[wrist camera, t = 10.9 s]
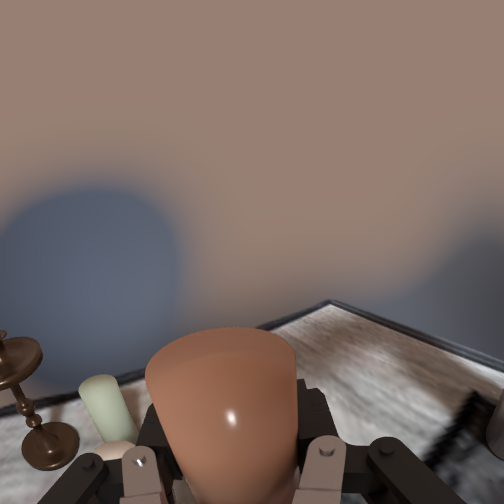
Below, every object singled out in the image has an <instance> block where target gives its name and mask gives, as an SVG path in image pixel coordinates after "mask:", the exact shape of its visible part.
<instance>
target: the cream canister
mask: <svg viewBox="0 0 504 504" xmlns="http://www.w3.org/2000/svg"><path fill="white" fill-rule="evenodd" d="M132 447H135V445H134V444H132V443H130V442H128V441H123V440H115V441H110V442H107V443H104V444H102V445H101V446H99V447H98V448H96V449H95V450H94V452H93V453H95V454H98V455H99V456H101V458H102V459H103V460H104V461H105V460H112V459H119V458H122V456H123V454H124V453H125V452H126V451H127V450H128V449H130V448H132Z"/></svg>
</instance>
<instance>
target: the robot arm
mask: <svg viewBox="0 0 504 504" xmlns="http://www.w3.org/2000/svg"><path fill="white" fill-rule="evenodd" d="M297 407H298V466H299V471H300V474H302V477H301V480H300V484H299V487H298V488H297V489H296V491H295V495H294V498H293V502H292V504H340V498H341V493H360V494H361V495H362V496H363V498H364V499H365V500H366V502H367V503H368V504H467V503H466V502H464V501H463V500H462V499H461V498H460V497H459V496H458V495H457V494H456V493H455V492H454V491H453V490H452V489H450V488H449V487H448V486H447V485H446V484H445V483H444V482H443V481H442V480H441V479H440V478H439V477H438V476H437V475H436V474H435V473H433V472H432V471H431V470H430V469H429V468H428V467H427V466H426V465H425V464H424V463H423V462H422V461H421V460H420V459H419V458H418V457H417V456H416V455H415V454H414V453H413V452H412V451H411V450H410V449H408V448H407V447H406V446H405V445H404V444H403V443H402V442H401V441H400V440H398V439H397V438H394V437H381V438H378V439H376V440H374V441H373V442H372V443H371V444H370V446H356V445H350V444H348V443H346V442H344V441H343V440H342V439H340V437H339V436H338V433H337V430H336V427H335V424H334V421H333V418H332V415H331V412H330V410H329V407H328V404H327V401H326V398H325V395H324V394H323V393H322V392H321V391H320V390H319V389H318V388H313V389H307V388H306V384H305V381H304V379H297ZM486 441H487V443H488V446H489V447H490V449H491V451H492V452H493V453H494V454H495V455H496V456H498V457H499V458H501V459H503V460H504V389H503V392H502V394H501V397H500V399H499V401H498V403H497V406H496V408H495V410H494V413H493V415H492V417H491V419H490V421H489V424H488V426H487V428H486ZM182 476H183V474H182V472H181V470H180V467H179V465H178V463H177V461H176V459H175V456H174V454H173V452H172V449H171V447H170V445H169V442H168V440H167V438H166V435H165V433H164V430H163V428H162V425H161V423H160V420H159V418H158V415H157V412H156V410H155V407H154V404H153V403H152V404H151V405H150V406H149V407H148V410H147V413H146V417H145V419H144V423H143V424H142V427H141V430H140V433H139V436H138V439H137V442H136V445H135V447H132V448H130V449H128V450H127V451H126V452H125V453H124V454H123V456H122V458H119V459H112V460H105V461H104V460H103V459H102V458H101V456H99V455H98V454H95V453H85V454H82V455H80V456H79V457H77V458H76V460H75V461H74V462H73V463H72V464H71V465H70V466H69V468H68V469H67V470H66V471H65V472H64V473H63V474H62V476H61V477H60V478H59V479H58V480H57V481H56V483H55V484H54V485H53V486H52V487H51V488H50V489H49V491H48V492H47V493H46V494H45V495H44V496H43V497H42V499H41V500H40V501H39V502H38V503H37V504H177V500H176V496H175V492H174V489H173V487H172V486H173V481H174V480H182ZM87 502H88V503H87Z"/></svg>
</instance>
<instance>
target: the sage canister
mask: <svg viewBox="0 0 504 504" xmlns="http://www.w3.org/2000/svg"><path fill="white" fill-rule="evenodd" d="M79 394H80V396H81V398H82V400H83V403H84V405H85V407H86V409H87V411H88V413H89V415H90V416H91V418H92V420H93V422H94V424H95V426H96V428H97V430H98V431H99V433H100V435H101V437H102V439H103V440H104V442H105V443H107V442H110V441H115V440H123V441H128V442H130V443H132V444H134V445H136V442H137V439H138V436H139V432H138V430H137V428H136V426H135V424H134V422H133V419H132V417H131V415H130V413H129V410H128V408H127V406H126V403H125V401H124V399H123V396H122V394H121V391H120V389H119V386H118V384H117V381H116V379H115V378H114V377H113V376H110V375H104V374H103V375H96V376H93V377H90V378H88V379H86V380H85V381H84V382H83V383H82V384H81V385H80V387H79Z"/></svg>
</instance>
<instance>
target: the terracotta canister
mask: <svg viewBox="0 0 504 504" xmlns="http://www.w3.org/2000/svg"><path fill="white" fill-rule="evenodd" d="M145 381H146V385H147V388H148V390H149V393H150V396H151V399H152V402H153V404H154V407H155V410H156V412H157V415H158V418H159V420H160V423H161V425H162V428H163V430H164V433H165V435H166V438H167V440H168V442H169V445H170V447H171V449H172V452H173V454H174V456H175V459H176V461H177V463H178V465H179V467H180V470H181V472H182V474H183V476H184V478H185V480H186V482H187V484H188V486H189V488H190V491H191V493H192V495H193V496H194V498H195V500H196V502H197V504H292V502H293V498H294V495H295V491H296V489H297V488H298V487H299V466H298V407H297V378H296V358H295V353H294V351H293V349H292V347H291V346H290V345H289V344H288V343H287V342H286V341H285V340H284V339H283V338H281V337H279V336H277V335H275V334H273V333H271V332H267V331H264V330H260V329H255V328H247V327H223V328H214V329H208V330H203V331H199V332H196V333H192V334H189V335H186V336H184V337H181V338H179V339H177V340H175V341H173V342H171V343H169V344H168V345H166V346H165V347H163V348H162V349H160V350H159V351H158V352H157V353H156V354H155V355H154V356H153V357H152V359H151V360H150V362H149V363H148V365H147V368H146V371H145Z"/></svg>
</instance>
